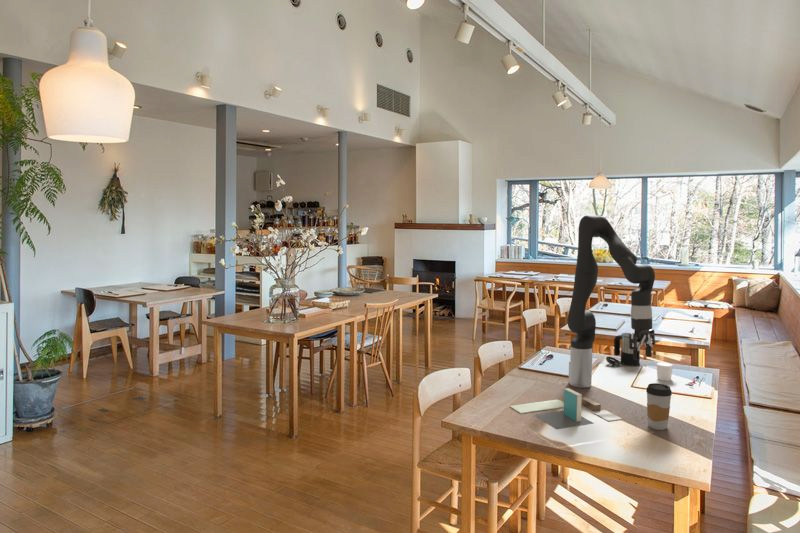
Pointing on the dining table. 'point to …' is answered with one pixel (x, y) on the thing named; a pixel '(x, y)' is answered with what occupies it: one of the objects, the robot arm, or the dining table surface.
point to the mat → (561, 420)
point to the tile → (572, 404)
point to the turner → (598, 410)
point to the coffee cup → (658, 405)
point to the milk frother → (623, 352)
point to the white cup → (664, 371)
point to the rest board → (538, 406)
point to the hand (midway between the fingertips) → (642, 358)
